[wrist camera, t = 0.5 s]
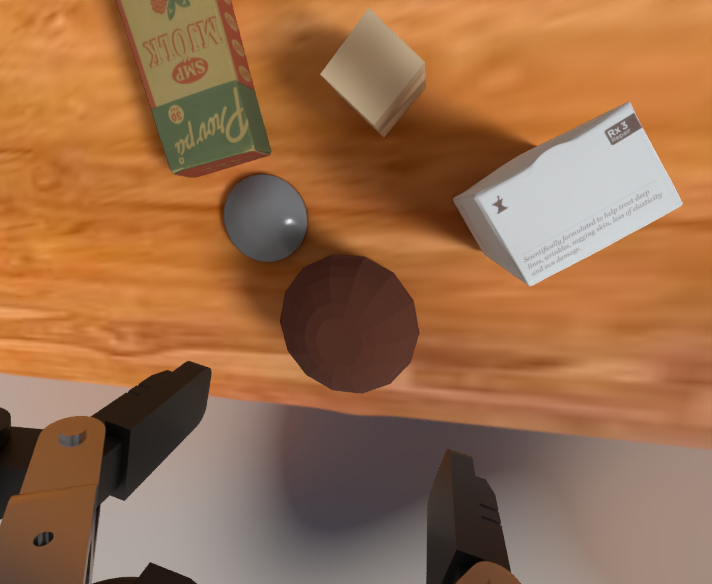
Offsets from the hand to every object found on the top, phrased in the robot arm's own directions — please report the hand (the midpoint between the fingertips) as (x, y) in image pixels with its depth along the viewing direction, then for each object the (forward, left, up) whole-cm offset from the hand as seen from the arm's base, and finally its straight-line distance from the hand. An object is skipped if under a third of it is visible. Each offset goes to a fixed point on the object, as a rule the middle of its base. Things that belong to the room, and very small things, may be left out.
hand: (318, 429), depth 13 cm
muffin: (+4, 0, -25) cm, 26 cm away
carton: (-2, -24, -26) cm, 35 cm away
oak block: (-11, -11, -25) cm, 29 cm away
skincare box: (-12, +3, -25) cm, 28 cm away
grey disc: (+4, -12, -25) cm, 28 cm away
